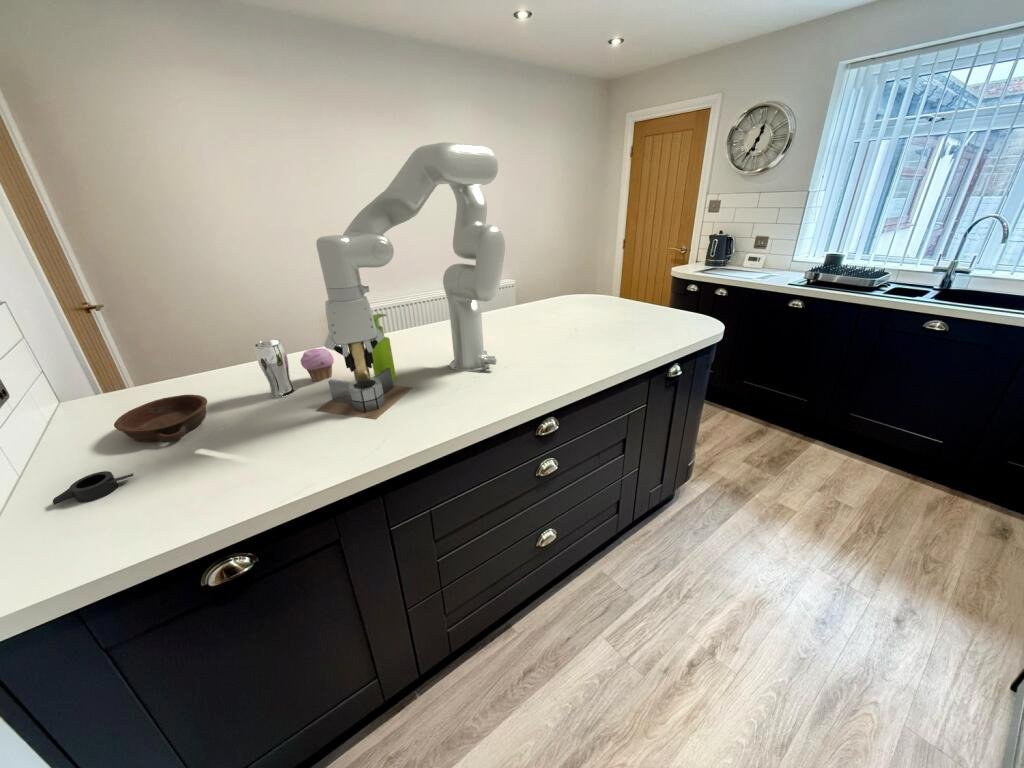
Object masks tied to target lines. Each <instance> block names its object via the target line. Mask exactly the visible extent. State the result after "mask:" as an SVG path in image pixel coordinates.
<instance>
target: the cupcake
mask: <svg viewBox="0 0 1024 768" xmlns="http://www.w3.org/2000/svg"><path fill="white" fill-rule="evenodd" d="M300 365H301V367H302V368H303V369H305V370H306V371H307V373H308V374H309V377H310V379H311V380H312V381H314V382H315V383H317V382H322V381H325V380H326V379H327V380H328V379H330V378H331V377H332V375H333V365H334V357H333V353H331V352H330V351H329V350H328V348H324V347H323V348H312V349H309V350H306V351H304V352H303V354H302V357H301V359H300Z"/></svg>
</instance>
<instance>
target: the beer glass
mask: <svg viewBox="0 0 1024 768" xmlns="http://www.w3.org/2000/svg"><path fill="white" fill-rule="evenodd" d="M253 347H254V352H255V356H256V359H257V362H258V364H259V367H260V369H261V371H262V373H263V375H264V376H265V378H266V380H267V382H268V384H269V387H270V395H271V397H272V396H273V397H272V398H274V397H281V398H283V397H282V396H286V395H288V396H289V394H290V395H291V394H294V393H295V392H296V388H295V387H294V386H295V385H294V384H293V383H292V380H291V375H290V365H289V360H288V359H289V358H288V355H287V352H286V349H285V347H284V344H283V341H282V339H277V338H275V339H266V340H262V341H261V340H260V341H258V342H256V343H254V344H253ZM294 391H295V392H294ZM286 397H287V396H286Z"/></svg>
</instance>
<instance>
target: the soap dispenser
mask: <svg viewBox="0 0 1024 768" xmlns="http://www.w3.org/2000/svg"><path fill="white" fill-rule="evenodd" d="M384 317H387V314H385V313H377V314H373V318H374V322H375V326H376V327H377V328H378V329H379V330H380V332H381V333H382V334H383V335H384V339H382V340H381V341H380V342H378V344H377V345H376V346H375V348H374V349H373V351H372V356H373V361H374V363H372V364H371V365H372V369H373V375H374V376H376V375H377V374H378V373H380V372H381V371H383V370H384V369H386V368H390V369H391V375H392V380H393V381H395V380H396V379H397V376H396V369H395V364H394V363H395V362H394V357H393V352H392V345H391V339H390V338H389V337H388V336H385V333H384V328H383V326H382V325H381V326H380V323H379V319H381V318H384ZM370 341H371V340H370Z"/></svg>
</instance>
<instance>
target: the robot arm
mask: <svg viewBox="0 0 1024 768" xmlns="http://www.w3.org/2000/svg"><path fill="white" fill-rule="evenodd" d="M498 171H499V163H498V158H497V156H496V154H495V153H494V152H493V150H492V149H490V148H489V147H487V146H484V145H477V144H465V143H456V142H437V143H431V144H425V145H421V146H419V147H417V148H415V149H414V151H413V152H412V153H411V154H410V155H409V157H408V158H407V160H406V161H405V162H404V163H403V165H402V167H401V168H400V170H399V171H398V172H397V174H396V175H395V177H394V178H393V179H392V181H391V182H390V183H389V185H388V186H387V188H386V189H384V190H383V191H382V192H380V193H379V194H378V195H377V196H376V197H375V198H374V199H373V200H372V201H370V202H369V203H368V204H367V205H366V206H364V207H363V208H362V209H361V210H360V211H359V212H358V213H357V215H356V216H355V217H354V218H353V220H351V222H350V223H349V225H348V226H347V228H346V229H345V231H344V232H343V234H341V235H337V234H335V235H334V234H333V235H323V236H320V237H318V238H317V239H316V243H315V244H316V250H317V253H318V259H319V262H320V267H321V268H320V269H321V273H322V277H323V280H324V281H323V282H324V285H325V290H326V295H327V298H328V300H325V302H324V304H325V305H324V307H325V317H326V322H327V328H328V334H327V337H326V339H325V342H324V344H323V345H324V349H327V350H328V349H329V350H331V351H334V352H337V353H338V354H340V355H341V356H343V358H344V363H345V367H346V369H349V370H350V372H351V373H352V372H353V373H354V368H353V363H352V358H351V356H350V353H349V348H348V344H351V343H357V342H362V341H363V342H364V347H365V352H366V357H367V363H368V367H369V369H373V365H372V363H374V361H373V356H372V351H373V349H374V348H375V346H376V345H377V344H378V342H380V341H381V340H382V339H384V337H385V334H384V335H383V334H382V333H381V332H380V330H379V329H378V328H377V327H376V326H375V322H374V318H373V315H374V314H373V310H372V308H371V305H370V302H369V299H368V297H367V296H366V295H365V294H366V293H369V292H370V287H369V285H363V283H362V281H361V280H362V279H361V274H360V268H362V269H363V268H370V269H371V268H374V269H375V268H382V267H384V266H387V265H388V264H389V263H390V262H391V260H392V259H393V257H394V253H395V250H394V246H393V244H392V241H390V240H389V238H388V237H386V236H385V235H384V234H386V233H387V232H388V231H390V229H392V228H394V227H396V226H399V225H401V224H403V223H405V222H406V223H407V222H408V221H410V220H411V219H413V218H415V217H416V216H417V215H418V214H419V213H420V211H421V209H422V208H423V207H424V206H425V203H427V201H428V199H429V198H430V196H431V195H432V194H433V192H434V191H435V189H436V188H437V187H438V186H439V185H447V184H448V186H449V187H450V188H451V191H452V193H453V194H454V197H455V201H456V213H455V221H454V228H453V229H454V230H453V237H452V249H453V253H454V254H455V256H457V257H459V259H460V258H461V259H463V260H470V261H471V260H472V261H475V264H470V263H469V264H468V263H454V264H452V265H449V267H447V268H446V269H445V271H444V273H443V276H442V285H443V289H444V292H445V296H446V299H447V300H446V301H447V303H448V309H449V310H448V311H449V320H450V321H449V322H450V331H451V332H450V333H451V340H452V350H453V351H452V352H453V359H452V360H451V362H450V363H449V368H450V370H452V371H458V372H466V373H467V372H468V373H479V372H482V371H485V370H487V369H489V367H490V365H494V366H495V365H496V364H497V362H498V361H497V358H496V356H495V355H488V350H484V349H485V348H484V334H483V317H482V308H481V306H480V305H481V304H480V302H481V303H482V302H483V303H484V302H485V303H487V302H490V301H493V299H494V298H496V296H497V294H498V292H499V289H500V284H501V279H502V273H503V266H504V260H505V254H506V242H505V241H506V240H505V237H504V233H503V232H502V230H500V228H498V227H497V226H496V225H494V224H493V225H492V224H489V223H487V215H488V203H487V199H486V196H485V194H484V192H483V189H482V188H481V186H486V185H489V184H491V183H492V182H493V181H494V180H495V179H496V177H497V176H498ZM370 340H371V341H370Z"/></svg>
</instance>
